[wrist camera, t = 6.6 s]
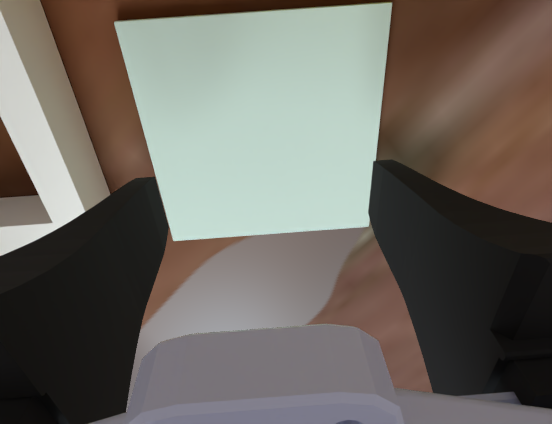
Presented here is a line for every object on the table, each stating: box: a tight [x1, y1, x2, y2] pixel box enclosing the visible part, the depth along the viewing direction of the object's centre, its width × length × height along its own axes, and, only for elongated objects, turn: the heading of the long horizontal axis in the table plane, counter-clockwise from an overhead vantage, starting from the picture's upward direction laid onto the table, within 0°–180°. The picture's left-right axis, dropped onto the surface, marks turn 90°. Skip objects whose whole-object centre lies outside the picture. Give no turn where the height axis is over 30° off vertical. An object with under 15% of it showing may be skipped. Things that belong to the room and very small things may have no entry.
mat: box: [114, 2, 392, 241], centre depth 16 cm, size 10×10×1 cm
